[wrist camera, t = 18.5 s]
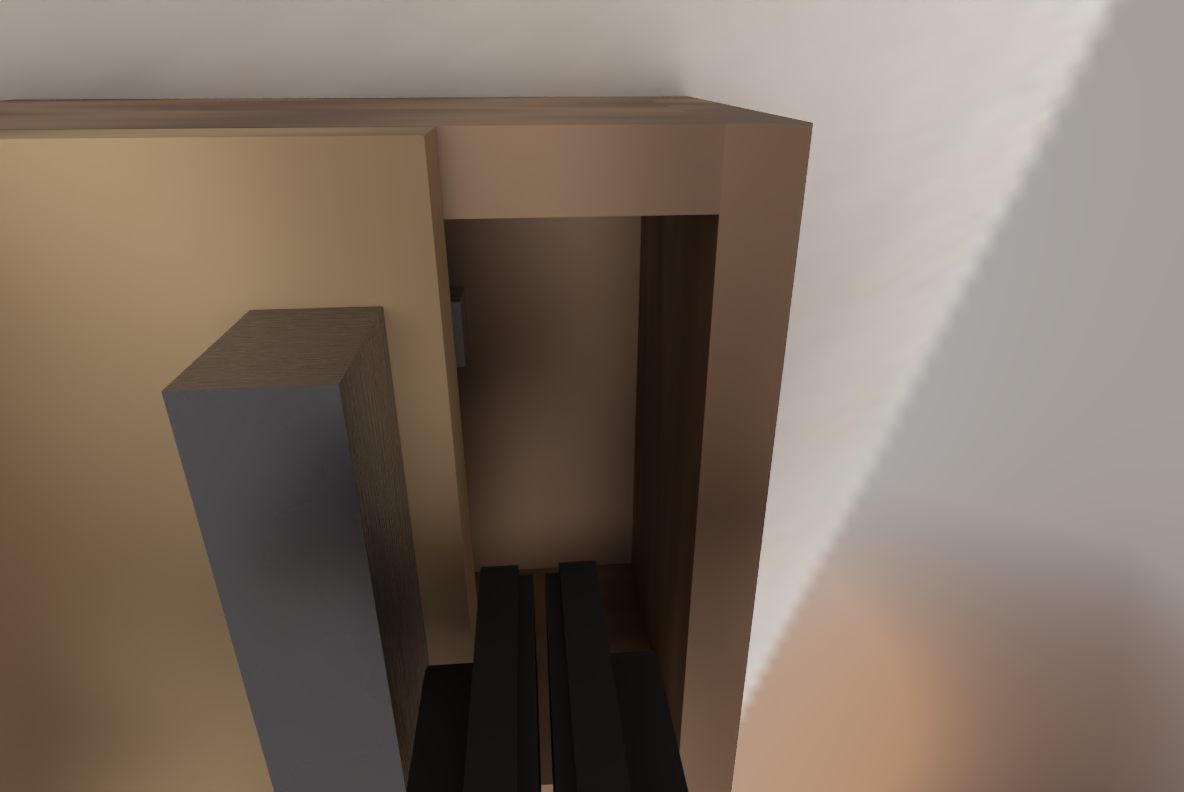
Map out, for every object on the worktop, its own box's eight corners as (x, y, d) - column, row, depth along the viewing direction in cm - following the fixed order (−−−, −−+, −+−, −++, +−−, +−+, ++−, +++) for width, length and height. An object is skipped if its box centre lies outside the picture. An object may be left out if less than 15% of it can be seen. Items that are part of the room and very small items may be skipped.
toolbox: (173, 600, 22) (-1, 870, 14) (14, 99, 16) (-416, 132, 8) (663, 571, 23) (729, 806, 16) (688, 96, 17) (812, 122, 10)
